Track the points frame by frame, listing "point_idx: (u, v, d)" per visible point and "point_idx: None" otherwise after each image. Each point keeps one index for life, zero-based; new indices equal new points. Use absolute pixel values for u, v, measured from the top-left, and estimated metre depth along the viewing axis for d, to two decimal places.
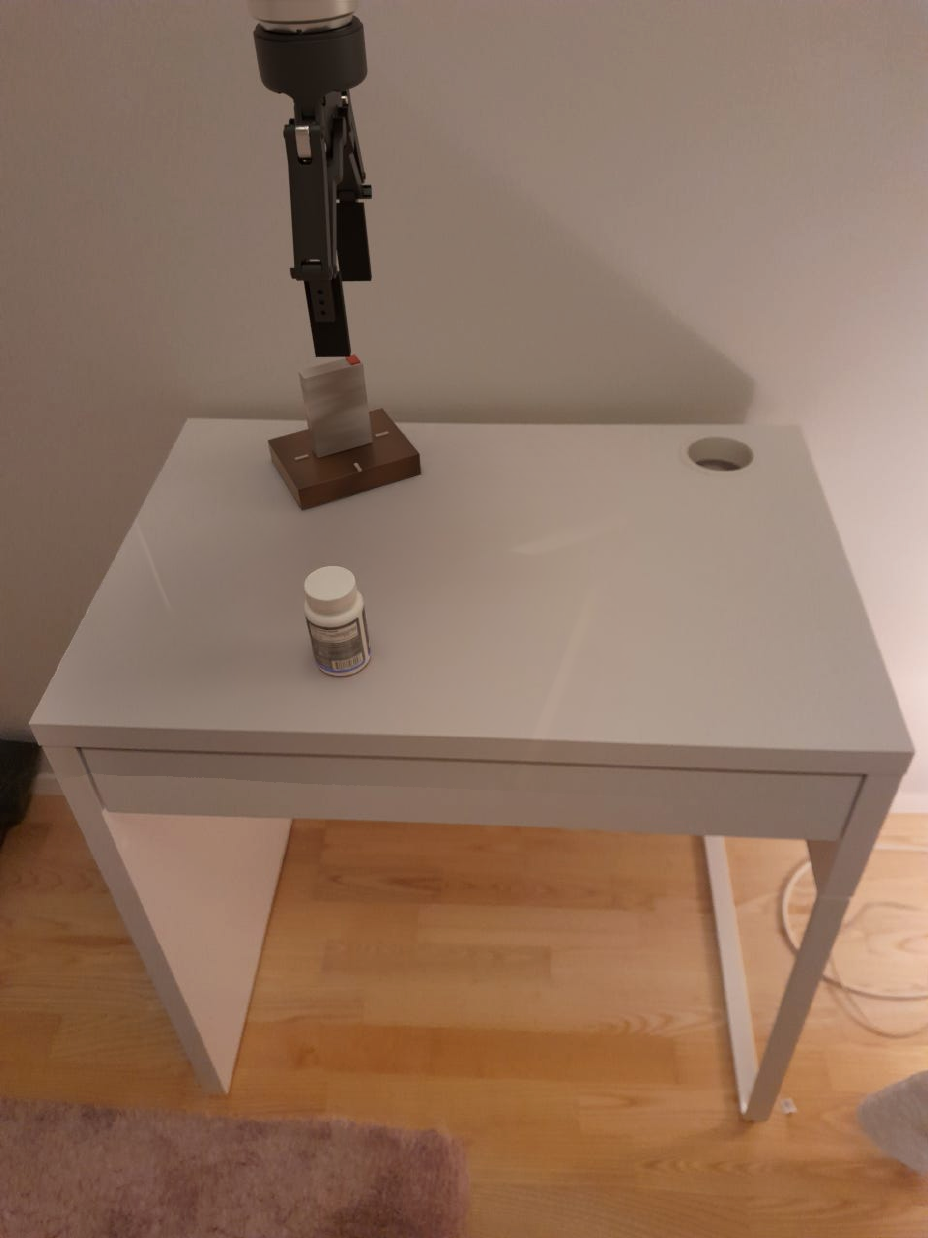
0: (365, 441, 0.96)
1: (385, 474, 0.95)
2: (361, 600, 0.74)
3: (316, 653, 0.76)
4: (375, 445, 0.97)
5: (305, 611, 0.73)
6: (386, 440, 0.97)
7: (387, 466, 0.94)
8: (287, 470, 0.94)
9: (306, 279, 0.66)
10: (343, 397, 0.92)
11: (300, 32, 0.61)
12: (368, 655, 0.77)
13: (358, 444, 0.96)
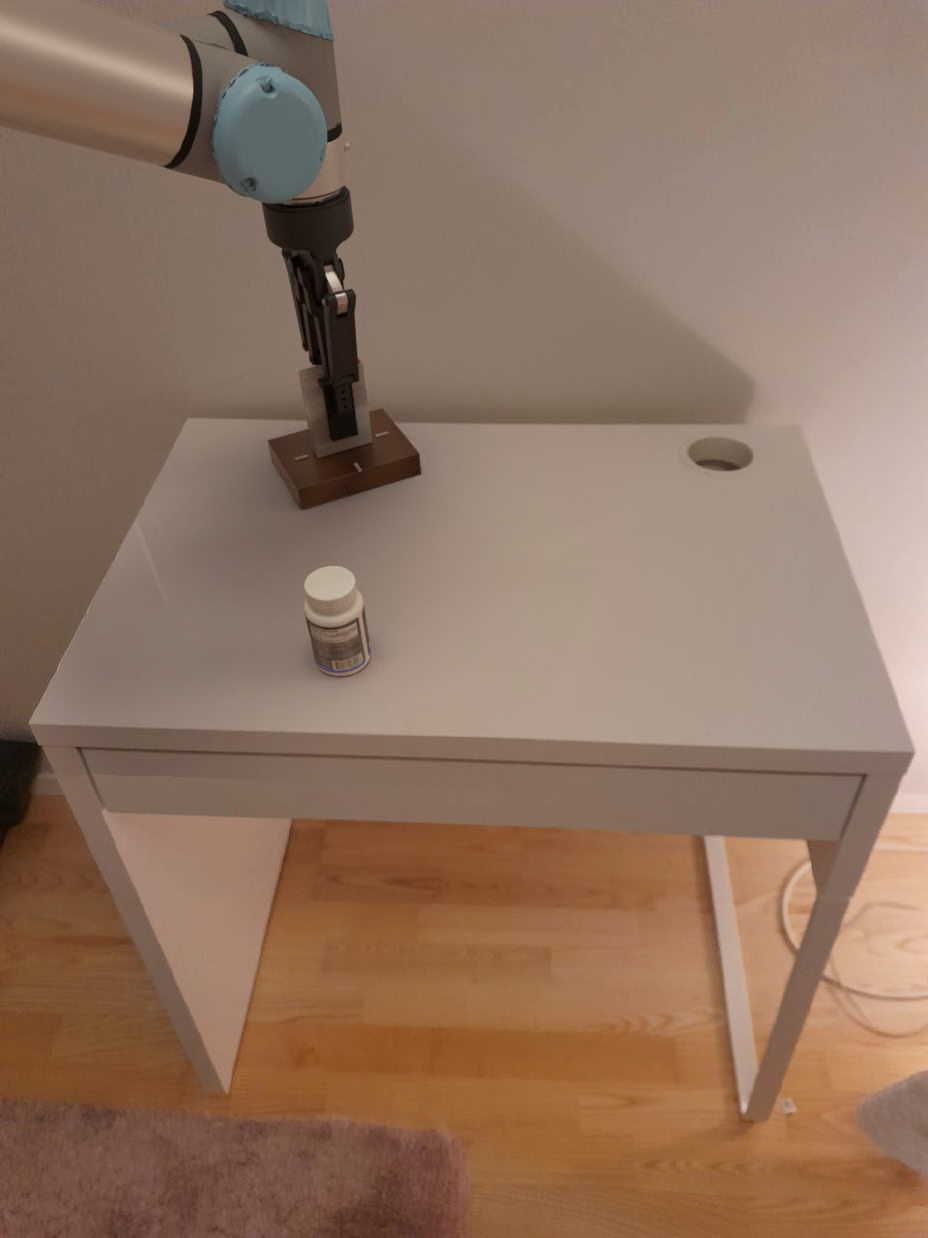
0: (365, 441, 0.96)
1: (385, 474, 0.95)
2: (361, 600, 0.74)
3: (316, 653, 0.76)
4: (375, 445, 0.97)
5: (305, 611, 0.73)
6: (386, 440, 0.97)
7: (387, 466, 0.94)
8: (287, 470, 0.94)
9: (342, 385, 0.87)
10: None
11: (319, 203, 0.77)
12: (368, 655, 0.77)
13: (358, 444, 0.96)
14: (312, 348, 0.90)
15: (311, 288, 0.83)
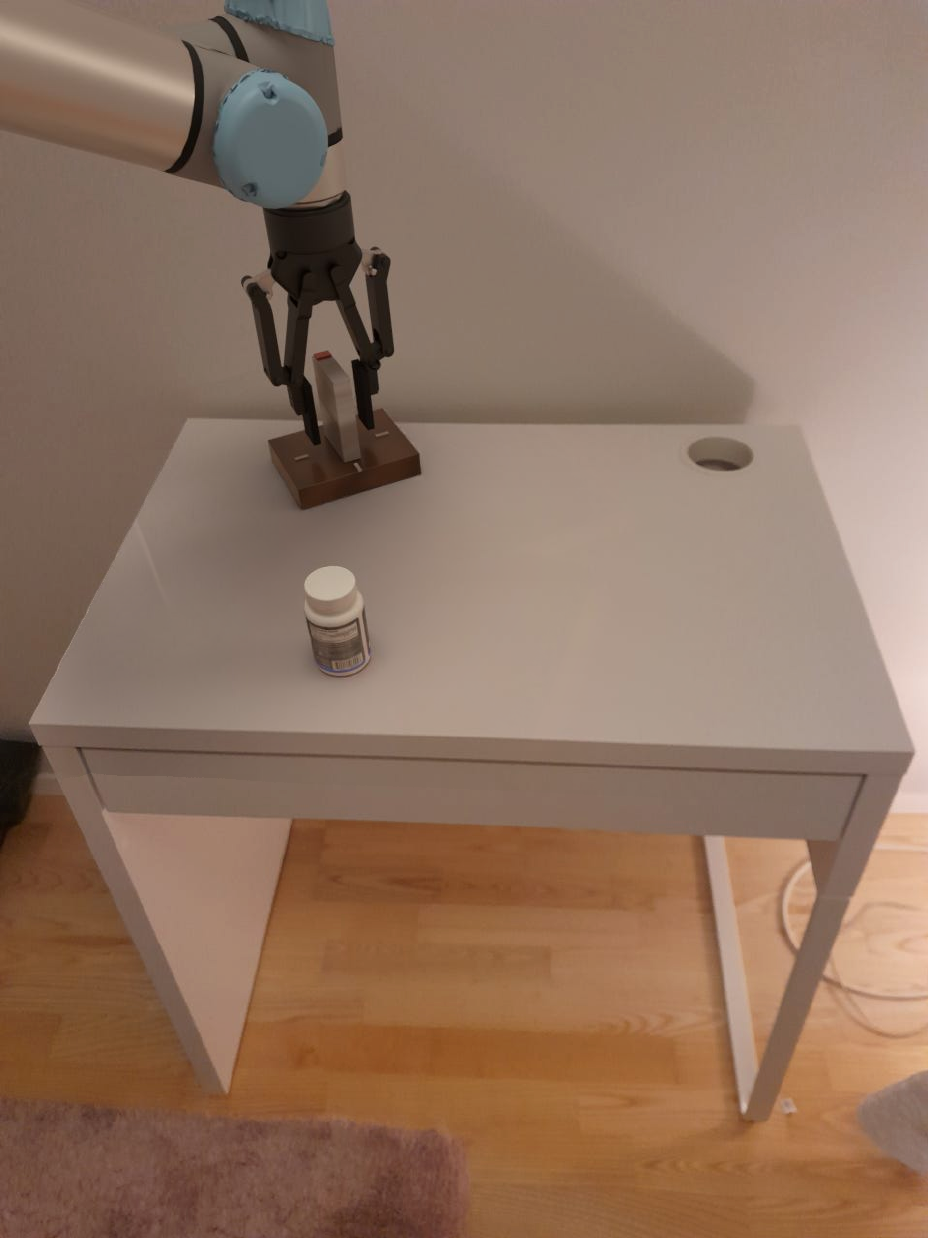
0: None
1: (385, 474, 0.95)
2: (361, 600, 0.74)
3: (316, 653, 0.76)
4: (375, 445, 0.97)
5: (305, 611, 0.73)
6: (386, 440, 0.97)
7: (387, 466, 0.94)
8: (287, 470, 0.94)
9: None
10: None
11: None
12: (368, 655, 0.77)
13: None
14: (304, 366, 0.88)
15: None
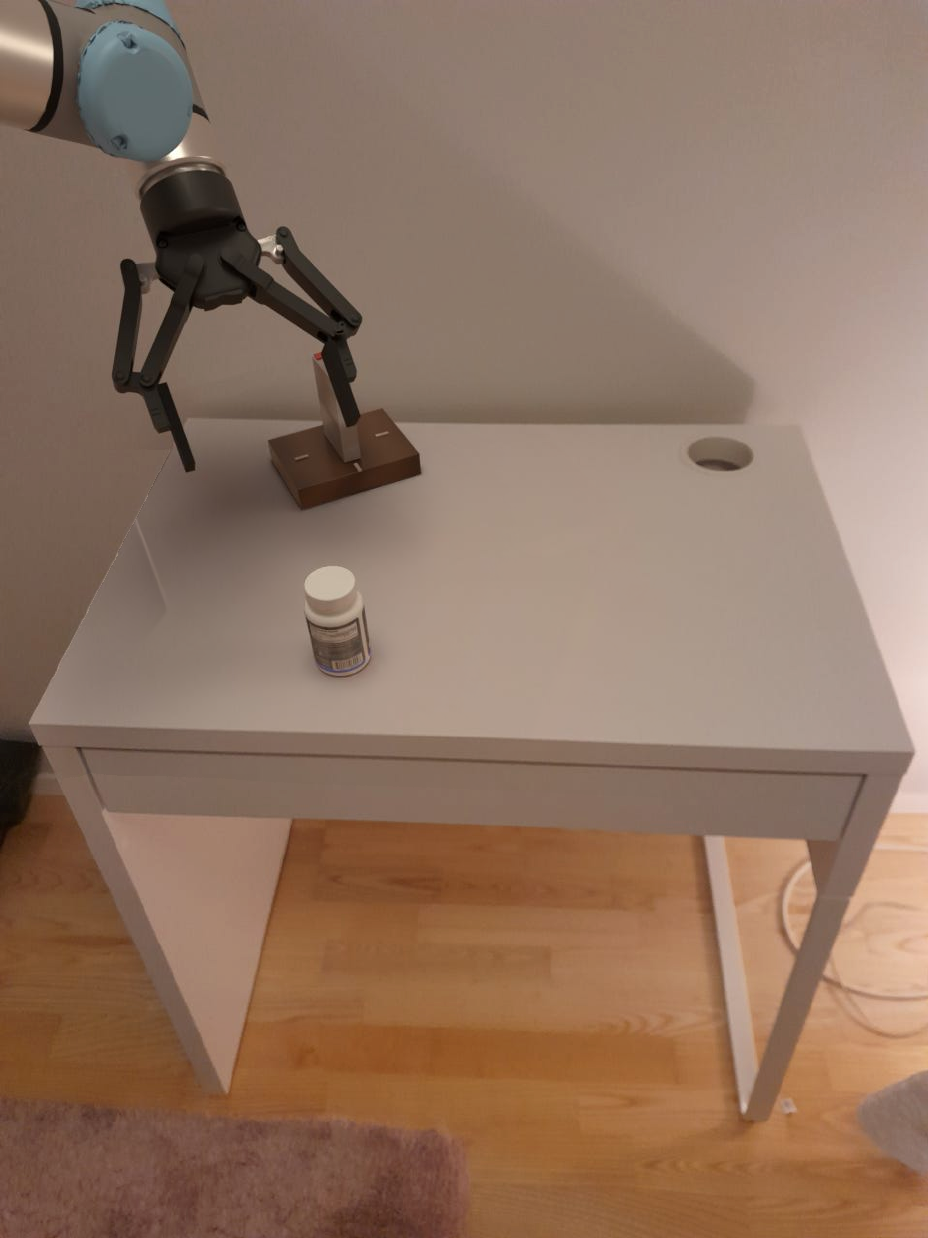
0: None
1: (385, 474, 0.95)
2: (361, 600, 0.74)
3: (316, 653, 0.76)
4: (375, 445, 0.97)
5: (305, 611, 0.73)
6: (386, 440, 0.97)
7: (387, 466, 0.94)
8: (287, 470, 0.94)
9: (360, 324, 0.77)
10: None
11: None
12: (368, 655, 0.77)
13: None
14: (162, 364, 0.72)
15: None
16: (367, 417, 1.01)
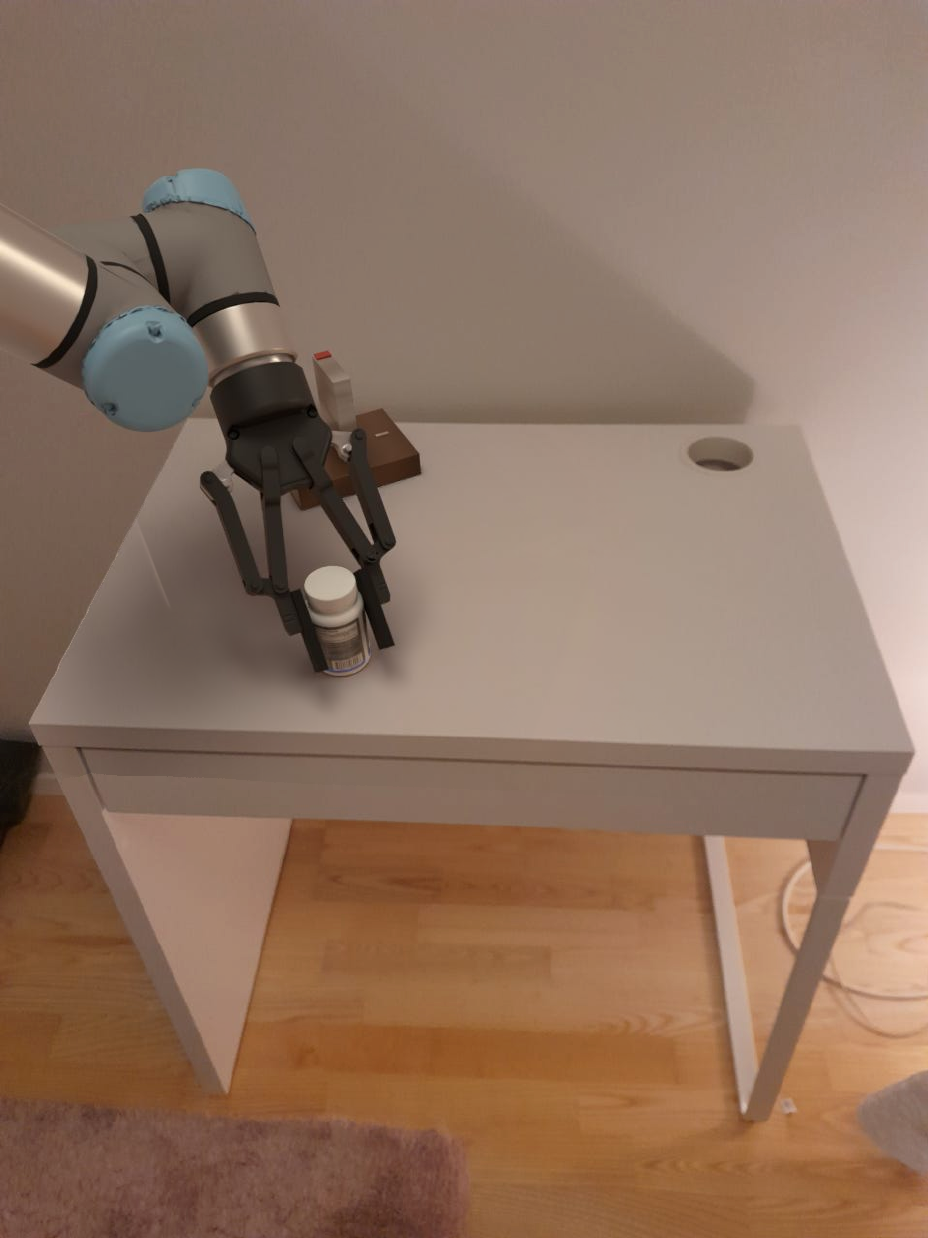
0: None
1: (385, 474, 0.95)
2: (361, 600, 0.74)
3: None
4: (375, 445, 0.97)
5: None
6: (386, 440, 0.97)
7: (387, 466, 0.94)
8: None
9: None
10: None
11: None
12: (368, 655, 0.77)
13: None
14: (286, 565, 0.71)
15: None
16: (367, 417, 1.01)
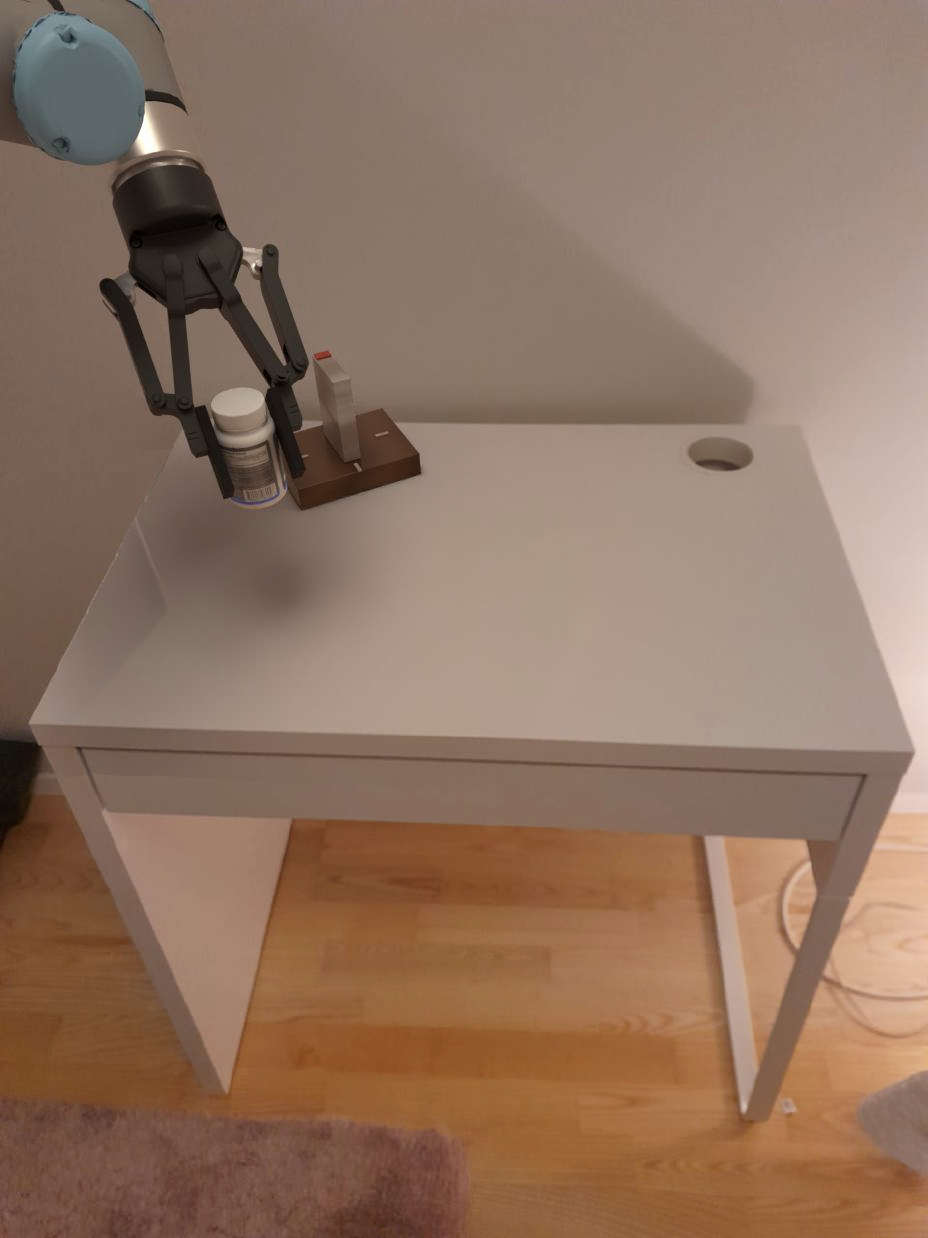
0: None
1: (385, 474, 0.95)
2: (272, 423, 0.71)
3: None
4: (375, 445, 0.97)
5: None
6: (386, 440, 0.97)
7: (387, 466, 0.94)
8: (287, 470, 0.94)
9: (307, 368, 0.72)
10: None
11: None
12: (283, 488, 0.74)
13: None
14: None
15: None
16: (367, 417, 1.01)
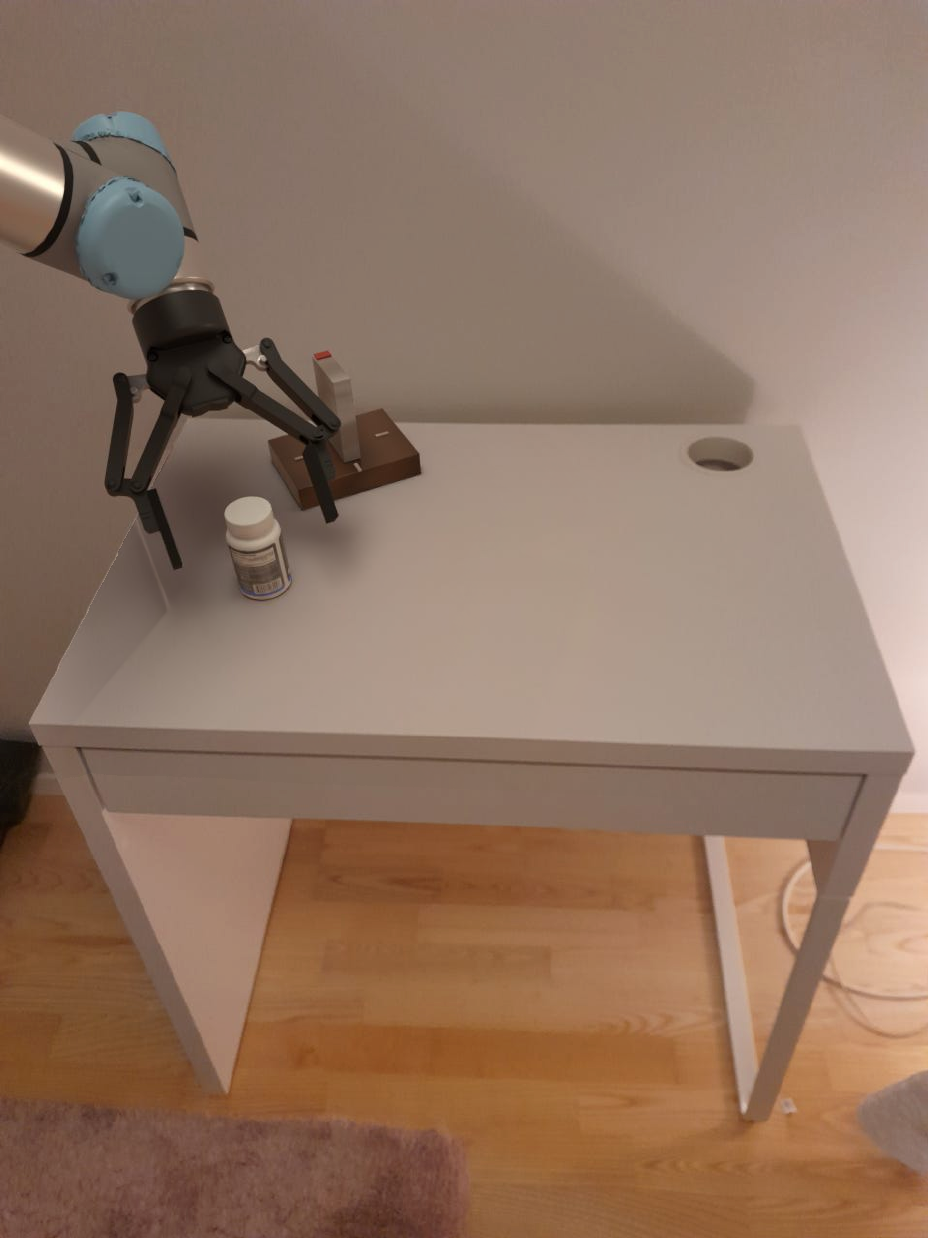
0: None
1: (385, 474, 0.95)
2: (278, 527, 0.81)
3: (239, 578, 0.83)
4: (375, 445, 0.97)
5: (226, 537, 0.80)
6: (386, 440, 0.97)
7: (387, 466, 0.94)
8: (287, 470, 0.94)
9: None
10: None
11: None
12: (288, 581, 0.84)
13: None
14: (151, 471, 0.77)
15: None
16: (367, 417, 1.01)
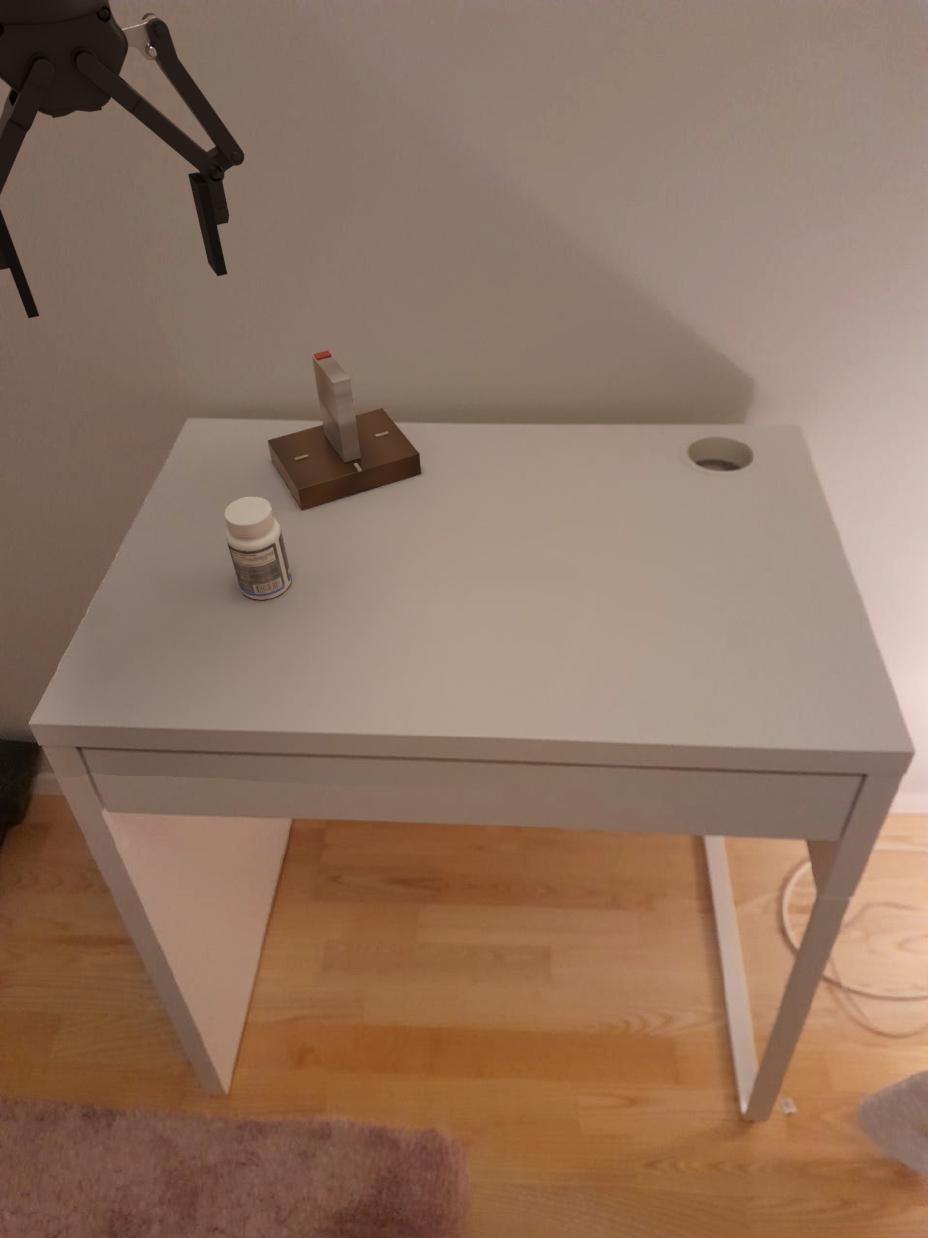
0: None
1: (385, 474, 0.95)
2: (278, 527, 0.81)
3: (239, 578, 0.83)
4: (375, 445, 0.97)
5: (226, 537, 0.80)
6: (386, 440, 0.97)
7: (387, 466, 0.94)
8: (287, 470, 0.94)
9: None
10: None
11: None
12: (288, 581, 0.84)
13: None
14: None
15: None
16: (367, 417, 1.01)
